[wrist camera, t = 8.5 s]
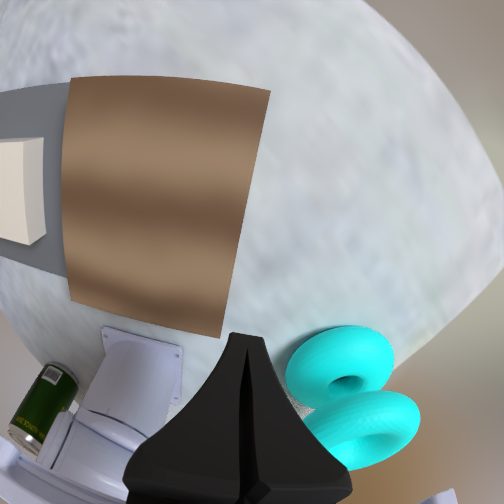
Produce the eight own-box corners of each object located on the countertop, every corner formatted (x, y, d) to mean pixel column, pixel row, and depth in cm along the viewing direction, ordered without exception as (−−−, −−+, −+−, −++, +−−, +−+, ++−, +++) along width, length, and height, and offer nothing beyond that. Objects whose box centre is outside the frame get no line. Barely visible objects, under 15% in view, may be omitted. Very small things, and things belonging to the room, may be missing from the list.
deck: (224, 313, 22) (219, 338, 20) (88, 280, 22) (71, 300, 19) (269, 96, 16) (270, 90, 13) (95, 81, 15) (71, 78, 12)
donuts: (391, 400, 12) (440, 433, 15) (351, 298, 21) (404, 352, 24) (260, 462, 16) (339, 482, 18) (261, 363, 25) (326, 402, 28)
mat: (79, 278, 22) (76, 280, 21) (-13, 247, 21) (-15, 249, 20) (84, 81, 15) (81, 81, 14) (-18, 97, 14) (-21, 97, 14)
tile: (46, 233, 19) (29, 245, 17) (-1, 222, 19) (-17, 232, 17) (43, 137, 16) (23, 141, 14) (-5, 139, 16) (-24, 144, 13)
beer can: (41, 355, 27) (-2, 423, 16) (72, 366, 27) (30, 443, 16) (55, 382, 29) (20, 446, 19) (85, 393, 29) (52, 464, 19)
